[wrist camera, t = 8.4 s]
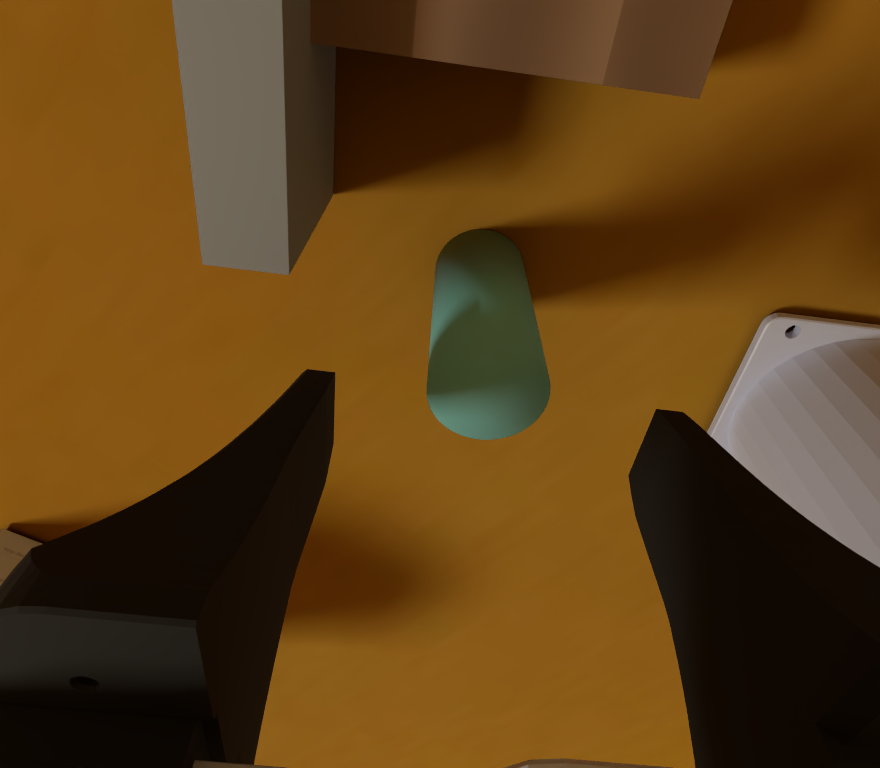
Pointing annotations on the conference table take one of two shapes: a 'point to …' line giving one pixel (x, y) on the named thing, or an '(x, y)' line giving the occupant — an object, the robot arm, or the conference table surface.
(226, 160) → the backstop wall
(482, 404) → the dowel
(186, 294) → the conference table surface
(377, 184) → the conference table surface
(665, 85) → the hole block
